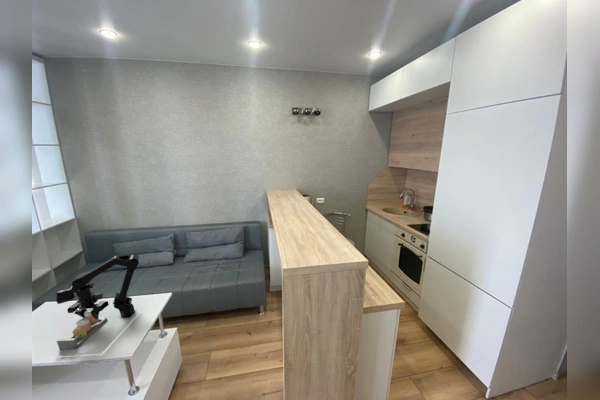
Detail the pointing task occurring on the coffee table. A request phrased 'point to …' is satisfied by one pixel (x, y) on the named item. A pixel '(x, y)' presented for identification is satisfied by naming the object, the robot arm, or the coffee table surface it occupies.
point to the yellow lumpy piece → (79, 332)
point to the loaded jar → (85, 324)
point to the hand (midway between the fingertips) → (92, 319)
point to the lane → (75, 343)
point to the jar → (91, 316)
